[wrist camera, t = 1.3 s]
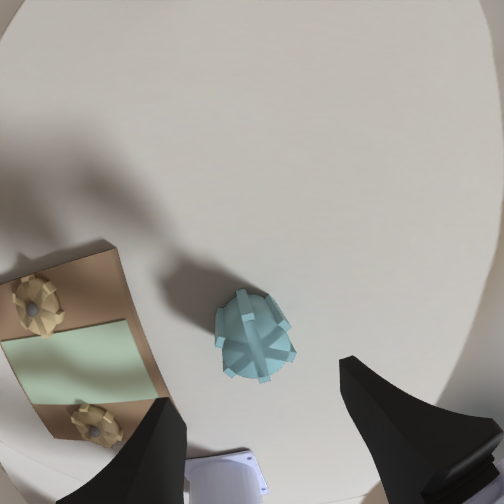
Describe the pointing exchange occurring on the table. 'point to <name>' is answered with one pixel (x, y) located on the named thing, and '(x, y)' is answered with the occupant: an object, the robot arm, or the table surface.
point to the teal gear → (252, 336)
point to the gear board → (80, 349)
